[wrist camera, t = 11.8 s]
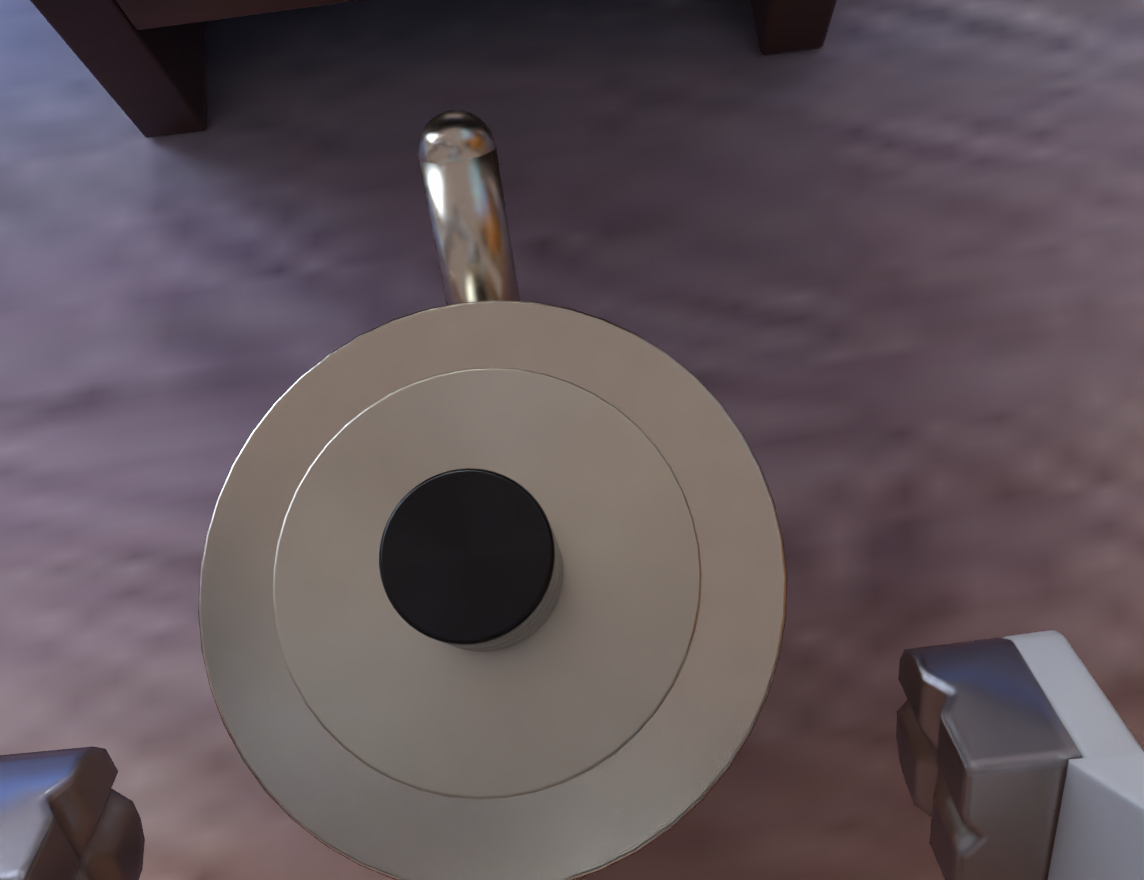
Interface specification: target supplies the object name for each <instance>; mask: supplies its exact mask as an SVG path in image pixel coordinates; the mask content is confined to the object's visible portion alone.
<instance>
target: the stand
mask: <svg viewBox="0 0 1144 880" xmlns="http://www.w3.org/2000/svg"><path fill="white" fill-rule="evenodd" d="M30 1H31V2H32V3H33V4H34V5H35V7H36V8H37V9H38V10H39V11H40V12H41V14H42V15H43V16H44V17H45V18H46V20H47V21H48V22H49V23H50V24H51V26H52V27H53V28H54V29H55V30H56V31H57V33H58V34H59V35H60V36H61V37H62V39H63V40H64V41H65V42H66V43H67V45H68V46H69V47H70V48H71V49H72V50H73V52H74V53H75V54H76V55H77V56H78V58H79V59H80V60H81V61H82V62H83V63H84V65H85V66H86V67H87V68H88V69H89V71H90V72H91V73H92V74H93V75H94V77H95V78H96V79H97V80H98V81H99V82H100V84H101V85H102V86H103V87H104V88H105V90H106V91H107V92H108V93H109V94H110V95H111V97H112V98H113V99H114V100H115V101H116V103H117V104H118V105H119V106H120V107H121V109H122V110H123V111H124V112H125V113H126V114H127V116H128V117H129V118H130V119H131V120H132V122H133V123H134V124H135V125H136V126H137V128H138V129H139V130H140V131H141V132H142V133H143V135H144V136H145V137H147V138H150V137H157V136H165V135H172V134H180V133H188V132H195V131H203V130H206V128H207V125H206V92H205V60H204V27H203V22H204V21H212V20H219V19H226V18H234V17H241V16H249V15H256V14H264V13H271V12H279V11H286V10H293V9H301V8H308V7H316V6H323V5H331V4H338V3H346V2H353V1H360V0H30ZM751 3H752V8H753V14H754V19H755V25H756V30H757V35H758V41H759V46H760V51H761V53H762V55H771V54H778V53H786V52H793V51H801V50H808V49H816V48H820V47H822V46H823V44H824V41H825V37H826V34H827V31H828V27H829V24H830V20H831V17H832V14H833V10H834V7H835V4H836V0H751Z"/></svg>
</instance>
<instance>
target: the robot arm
mask: <svg viewBox="0 0 1144 880" xmlns="http://www.w3.org/2000/svg"><path fill="white" fill-rule="evenodd" d="M899 681H900V684H901V686H902V688H903V690H904V693H905V695H906V697H907V701H906V702H905V703H904V704H903V705H902V706H901V707H900V708H899V710H898V711H897V721H896V738H897V745H898V753H899V760H900V765H901V768H902V772H903V775H904V779H905V782H906V785H907V788H908V790H909V793H910V795H911V798H912V801H913V803H914V805H915V806H916V807H918V808H919V809H920V810H922V811H923V812H925V813H926V814H927V815H929V816H930V817H931V830H930V845H931V848H932V850H933V852H934V855H935V857H936V860H937V862H938V864H939V867H940V869H941V872H942V874H943V876H944V879H945V880H1144V750H1143V749H1142V748H1141V746H1140V745H1139V743H1138V742H1137V740H1136V739H1135V737H1134V736H1133V735H1132V733H1131V732H1130V730H1129V729H1128V727H1127V726H1126V724H1125V723H1124V721H1123V720H1122V719H1121V717H1120V716H1119V714H1118V713H1117V711H1116V710H1115V708H1114V707H1113V706H1112V704H1111V703H1110V701H1109V700H1108V698H1107V697H1106V695H1105V694H1104V693H1103V691H1102V690H1101V688H1100V687H1099V685H1098V684H1097V682H1096V681H1095V680H1094V678H1093V677H1092V675H1091V674H1090V672H1089V671H1088V669H1087V668H1086V667H1085V665H1084V664H1083V662H1082V661H1081V659H1080V658H1079V656H1078V655H1077V653H1076V652H1075V651H1074V649H1073V648H1072V646H1071V645H1070V643H1069V642H1068V640H1067V639H1066V638H1065V636H1064V635H1062V634H1060V633H1059V632H1057V631H1056V630H1049V631H1042V632H1034V633H1027V634H1019V635H1012V636H1005V637H1003V638H991V639H983V640H975V641H967V642H960V643H952V644H944V645H936V646H928V647H921V648H913V649H905V650H904V651H903V653H902V656H901V658H900V665H899ZM117 773H118V770H117V768H116V767H115V765H114V763H113V761H112V759H111V757H110V756H109V754H108V752H107V750H106V749H104V748H98V747H84V748H73V749H62V750H52V751H41V752H31V753H20V754H9V755H0V880H139V878H140V875H141V872H142V866H143V854H144V841H145V839H144V834H143V829H142V823H141V818H140V816H139V814H138V812H137V810H136V807H135V805H134V803H133V801H131V800H130V799H128V798H126V797H125V796H123V795H121V794H120V793H118V792H116V791H115V790H113V789H111V787H112V785H113V783H114V780H115V778H116V775H117Z"/></svg>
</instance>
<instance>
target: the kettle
mask: <svg viewBox="0 0 1144 880" xmlns="http://www.w3.org/2000/svg"><path fill="white" fill-rule="evenodd" d="M418 159H419V164H420V169H421V174H422V179H423V185H424V190H425V195H426V200H427V205H428V211H429V216H430V221H431V226H432V231H433V236H434V242H435V247H436V252H437V257H438V262H439V267H440V273H441V278H442V283H443V288H444V293H445V298H446V304H447V305H445V306H440V307H435V308H430V309H426V310H422V311H419V312H416V313H413V314H410V315H407V316H404V317H401V318H397V319H394V320H392V321H389V322H387V323H385V324H383V325H381V326H379V327H376V328H374V329H372V330H370V331H368V332H365V333H363V334H361V335H359V336H358V337H356V338H354V339H353V340H351V341H349V342H348V343H346V344H345V345H343V346H341V347H340V348H338V349H336V350H335V351H333V352H331V353H330V354H328V355H327V356H326V357H325V358H323V359H322V360H321V361H320V362H318V363H317V364H316V365H314V366H313V367H312V368H311V369H309V370H308V371H307V372H306V373H304V374H303V375H302V376H301V377H299V379H298V380H297V381H296V382H295V383H294V384H293V385H292V386H291V387H290V388H289V389H288V390H287V391H286V392H285V393H284V394H283V395H282V396H281V397H280V398H279V399H278V400H277V401H276V402H275V403H274V404H273V405H272V407H271V408H270V409H269V410H268V412H267V413H266V414H265V416H264V417H263V418H262V419H261V421H260V422H259V423H258V425H257V426H256V427H255V428H254V430H253V431H252V432H251V434H250V436H249V437H248V439H247V441H246V442H245V444H244V446H243V447H242V449H241V451H240V452H239V454H238V456H237V457H236V459H235V461H234V462H233V464H232V466H231V468H230V471H229V473H228V475H227V478H226V480H225V482H224V484H223V487H222V489H221V491H220V493H219V496H218V498H217V501H216V504H215V507H214V511H213V514H212V517H211V521H210V524H209V527H208V531H207V534H206V539H205V545H204V551H203V557H202V563H201V569H200V580H199V605H198V615H199V626H200V637H201V648H202V654H203V658H204V663H205V667H206V672H207V676H208V681H209V685H210V689H211V692H212V694H213V697H214V700H215V702H216V705H217V708H218V711H219V713H220V716H221V719H222V721H223V724H224V726H225V728H226V730H227V732H228V734H229V736H230V737H231V739H232V741H233V743H234V745H235V747H236V749H237V751H238V753H239V754H240V756H241V758H242V760H243V761H244V763H245V764H246V765H247V767H248V768H249V770H250V771H251V772H252V774H253V775H254V776H255V778H256V779H257V781H258V782H259V783H260V785H261V786H262V788H263V789H264V790H265V792H266V793H267V794H268V795H269V796H270V797H271V798H272V799H273V800H274V801H275V802H276V803H277V804H278V805H279V806H280V807H281V808H282V809H283V810H284V811H285V812H286V814H287V815H288V816H289V817H290V818H291V819H292V820H293V821H295V822H296V823H297V824H298V825H300V826H301V827H302V828H303V829H305V830H306V831H307V832H309V833H310V834H311V835H312V836H314V837H315V838H316V839H318V840H319V841H320V842H321V843H323V844H324V845H325V846H327V847H329V848H331V849H332V850H334V851H336V852H338V853H339V854H341V855H343V856H344V857H346V858H348V859H350V860H351V861H353V862H355V863H357V864H358V865H360V866H363V867H365V868H368V869H370V870H373V871H375V872H378V873H380V874H383V875H385V876H388V877H390V878H393V879H395V880H575V879H578V878H580V877H583V876H586V875H589V874H592V873H595V872H598V871H601V870H603V869H605V868H607V867H609V866H611V865H613V864H615V863H617V862H619V861H621V860H623V859H625V858H627V857H629V856H631V855H633V854H635V853H637V852H638V851H640V850H641V849H643V848H644V847H645V846H647V845H648V844H650V843H651V842H653V841H654V840H656V839H657V838H658V837H660V836H661V835H663V834H664V833H666V832H667V831H669V830H670V829H672V828H673V827H674V826H675V825H676V824H677V823H678V822H679V821H680V820H681V819H683V818H684V817H685V816H686V815H687V814H688V813H689V812H690V811H691V810H692V809H693V808H695V807H696V806H697V805H698V804H699V803H700V802H701V801H702V800H703V799H704V798H705V797H706V795H707V794H708V793H709V792H710V791H711V789H712V788H713V787H714V786H715V785H716V783H717V782H718V781H719V780H720V779H721V777H722V776H723V775H724V774H725V773H726V771H727V770H728V769H729V768H730V766H731V764H732V763H733V761H734V760H735V758H736V756H737V755H738V753H739V752H740V750H741V749H742V747H743V745H744V744H745V742H746V741H747V739H748V737H749V736H750V734H751V732H752V730H753V728H754V726H755V723H756V721H757V719H758V717H759V715H760V712H761V710H762V708H763V706H764V704H765V701H766V699H767V697H768V694H769V691H770V687H771V684H772V681H773V678H774V674H775V671H776V668H777V664H778V661H779V658H780V652H781V646H782V640H783V633H784V627H785V621H786V601H787V572H786V562H785V553H784V543H783V537H782V533H781V529H780V524H779V520H778V516H777V512H776V507H775V503H774V500H773V498H772V495H771V492H770V490H769V487H768V485H767V482H766V479H765V477H764V474H763V471H762V469H761V466H760V465H759V463H758V461H757V459H756V457H755V455H754V453H753V452H752V450H751V448H750V446H749V444H748V442H747V440H746V439H745V437H744V435H743V433H742V432H741V430H740V429H739V428H738V426H737V425H736V423H735V422H734V421H733V419H732V418H731V417H730V415H729V414H728V412H727V411H726V410H725V408H724V407H723V405H722V404H721V403H720V402H719V401H718V400H717V399H716V398H715V397H714V395H713V394H712V393H711V392H710V391H709V390H708V389H707V388H706V387H705V386H704V385H703V384H702V383H701V382H700V381H699V379H698V378H697V377H696V376H694V375H693V374H692V373H691V372H690V371H688V370H687V369H686V368H685V367H683V366H682V365H681V364H680V363H679V362H677V361H676V360H675V359H674V358H672V357H671V356H670V355H669V354H668V353H666V352H664V351H663V350H661V349H660V348H658V347H656V346H655V345H653V344H652V343H650V342H648V341H647V340H645V339H644V338H642V337H640V336H639V335H637V334H635V333H633V332H631V331H629V330H627V329H624V328H622V327H620V326H618V325H616V324H614V323H611V322H609V321H607V320H605V319H602V318H599V317H596V316H593V315H589V314H586V313H583V312H580V311H577V310H574V309H570V308H565V307H560V306H554V305H549V304H543V303H538V302H528V301H520V298H519V292H518V285H517V279H516V272H515V266H514V260H513V253H512V247H511V240H510V234H509V227H508V221H507V214H506V208H505V201H504V195H503V188H502V182H501V175H500V169H499V162H498V156H497V149H496V144H495V140H494V137H493V135H492V133H491V130H490V129H489V127H488V126H487V125H486V123H484V122H483V121H482V120H481V119H480V118H479V117H477V116H475V115H474V114H472V113H469V112H466V111H462V110H450V111H445V112H443V113H440V114H438V115H436V116H435V117H434V118H432V119H431V120H430V121H429V122H428V123H427V124H426V125H425V127H424V129H423V130H422V132H421V134H420V137H419V141H418Z"/></svg>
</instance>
